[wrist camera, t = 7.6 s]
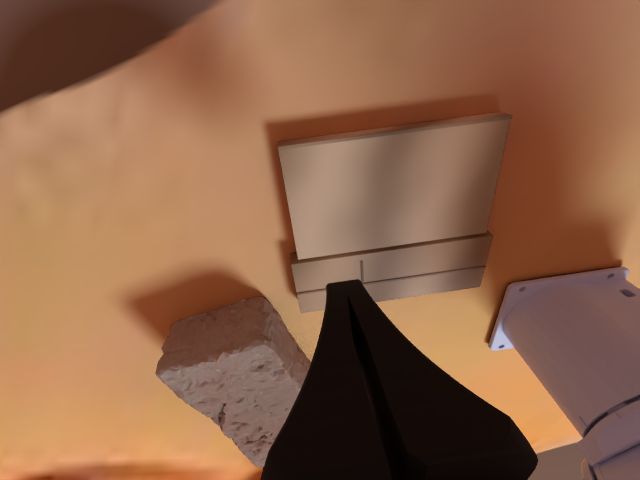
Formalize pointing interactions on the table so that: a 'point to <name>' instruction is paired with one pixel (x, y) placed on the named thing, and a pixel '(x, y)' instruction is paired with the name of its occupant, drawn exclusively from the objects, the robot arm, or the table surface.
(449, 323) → the table surface
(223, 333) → the brick
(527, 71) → the table surface
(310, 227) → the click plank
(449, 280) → the laid board
